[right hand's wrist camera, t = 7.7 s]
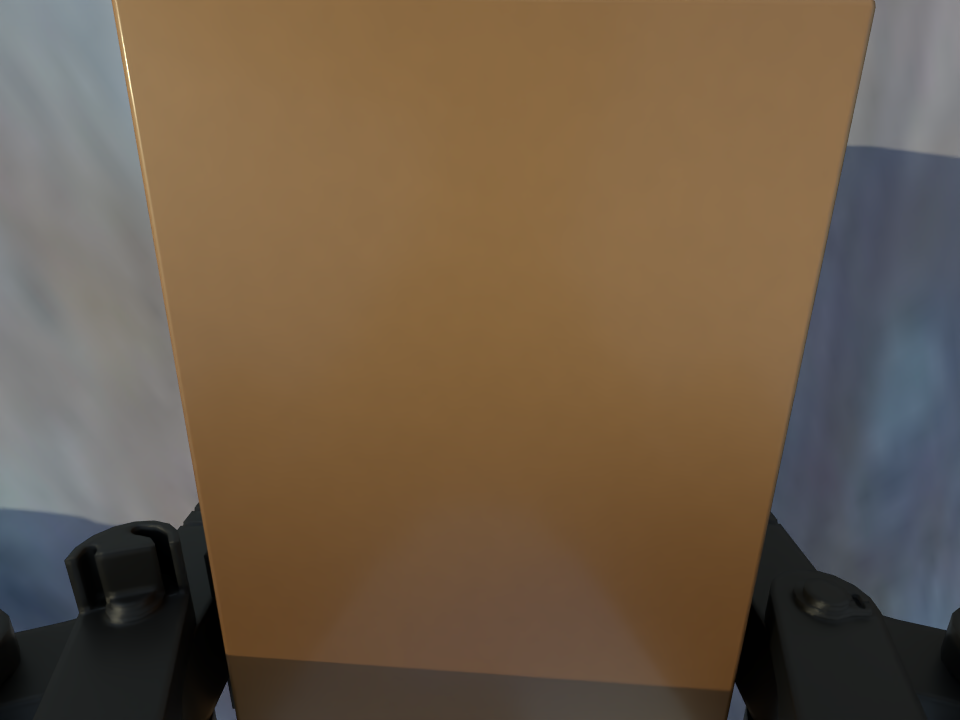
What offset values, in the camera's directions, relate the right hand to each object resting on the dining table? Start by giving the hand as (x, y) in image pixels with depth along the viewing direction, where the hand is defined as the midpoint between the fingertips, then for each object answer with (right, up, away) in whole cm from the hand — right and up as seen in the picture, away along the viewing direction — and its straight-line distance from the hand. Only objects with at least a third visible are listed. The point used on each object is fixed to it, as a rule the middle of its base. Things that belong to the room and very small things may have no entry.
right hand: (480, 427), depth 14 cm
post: (0, -16, +7) cm, 18 cm away
